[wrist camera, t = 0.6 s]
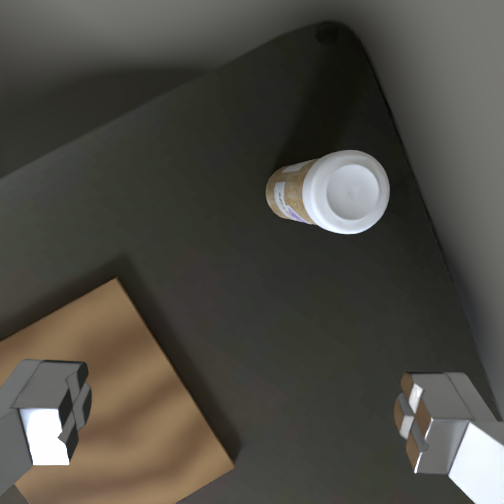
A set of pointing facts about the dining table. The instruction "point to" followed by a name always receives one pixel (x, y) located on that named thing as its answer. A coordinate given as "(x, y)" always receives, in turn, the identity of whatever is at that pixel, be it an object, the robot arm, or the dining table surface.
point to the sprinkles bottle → (331, 192)
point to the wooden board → (119, 409)
